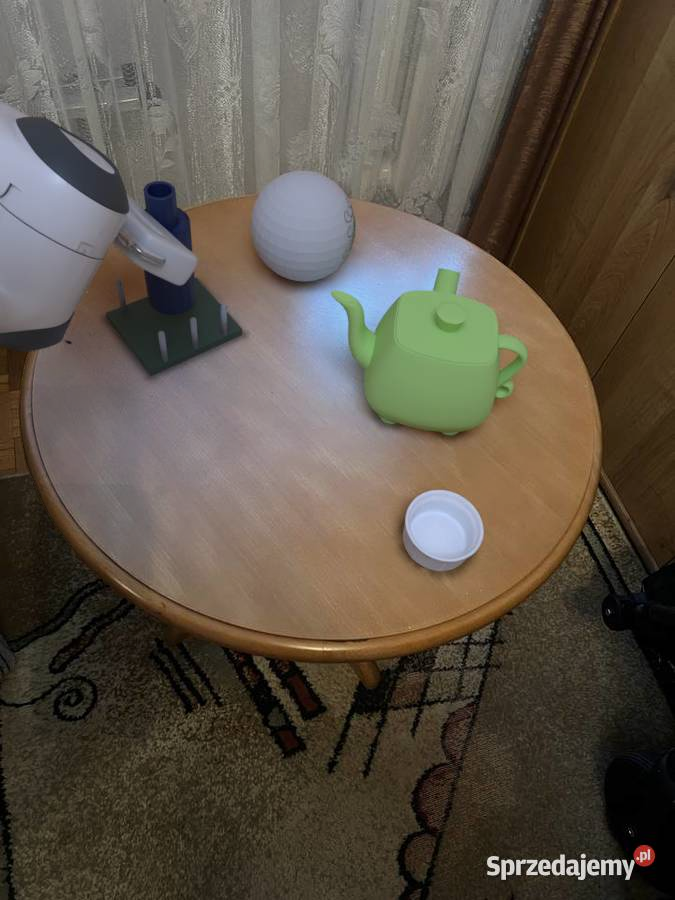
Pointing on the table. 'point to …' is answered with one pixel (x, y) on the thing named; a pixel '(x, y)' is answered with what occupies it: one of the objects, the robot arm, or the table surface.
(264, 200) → the decorative object
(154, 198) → the bottle
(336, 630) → the table surface
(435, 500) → the ramekin
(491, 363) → the teapot
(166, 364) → the rack
